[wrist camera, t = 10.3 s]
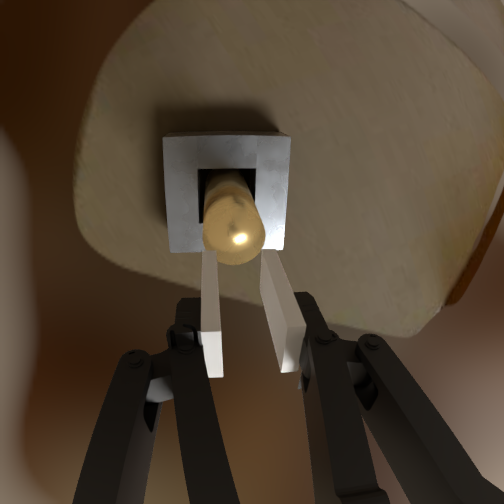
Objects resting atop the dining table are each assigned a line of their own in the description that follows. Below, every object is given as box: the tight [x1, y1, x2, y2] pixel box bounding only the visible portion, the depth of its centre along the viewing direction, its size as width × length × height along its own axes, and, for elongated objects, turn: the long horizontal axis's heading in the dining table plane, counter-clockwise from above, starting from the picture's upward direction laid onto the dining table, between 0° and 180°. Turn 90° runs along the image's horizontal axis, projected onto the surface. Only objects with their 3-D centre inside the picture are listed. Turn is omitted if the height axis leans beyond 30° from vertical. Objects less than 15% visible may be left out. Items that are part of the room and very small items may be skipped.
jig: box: [163, 131, 291, 253], centre depth 32 cm, size 12×12×4 cm
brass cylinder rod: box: [202, 168, 266, 265], centre depth 28 cm, size 4×4×14 cm
